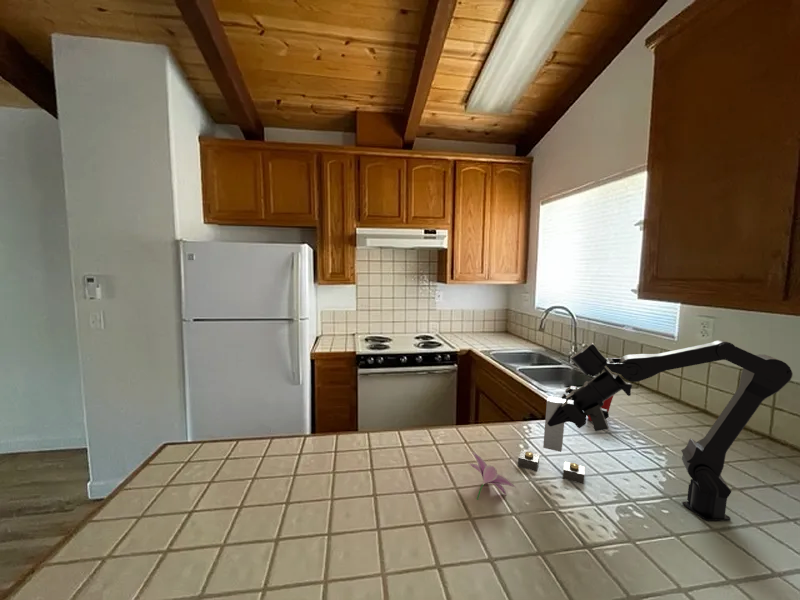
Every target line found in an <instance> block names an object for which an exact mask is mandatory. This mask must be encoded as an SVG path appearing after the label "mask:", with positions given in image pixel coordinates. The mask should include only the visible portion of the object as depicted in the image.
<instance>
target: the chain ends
mask: <svg viewBox="0 0 800 600" xmlns="http://www.w3.org/2000/svg"><path fill="white" fill-rule="evenodd" d="M540 457H541V455H540V454H536V453H533V452H531V451H526V450H520V452H519V455H518V460H517V467H519V468H523V469H527V470H530V471H534V472H537V471H538V468H539V465H540ZM585 471H586V466H585V465H581V464H578V463H574V462H569V461H564V463H563V471H562V479H563V480H567V481H570V482H574V483H576V484H577V483H578V484H582V485H584V484H585V473H586V472H585Z"/></svg>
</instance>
